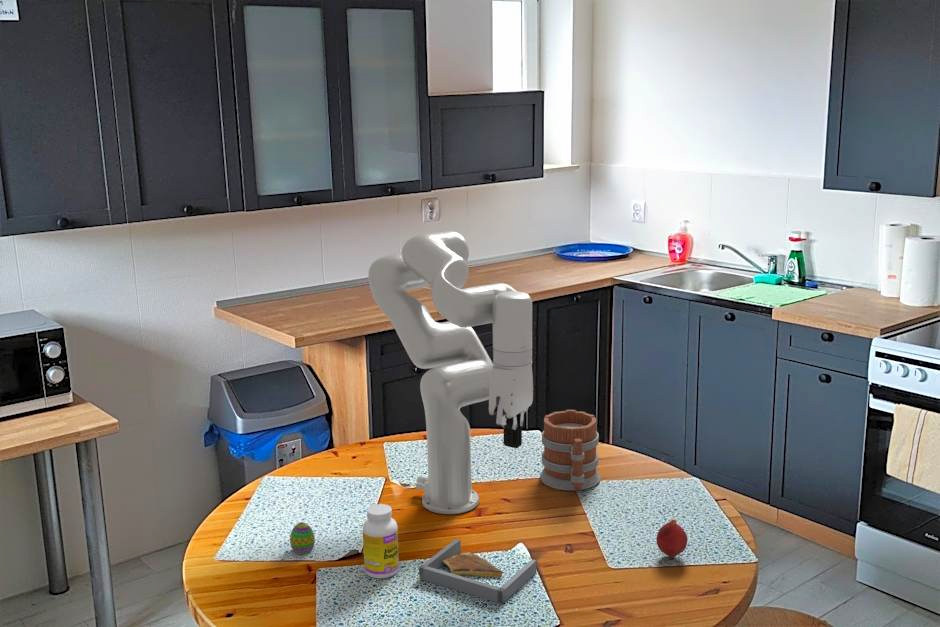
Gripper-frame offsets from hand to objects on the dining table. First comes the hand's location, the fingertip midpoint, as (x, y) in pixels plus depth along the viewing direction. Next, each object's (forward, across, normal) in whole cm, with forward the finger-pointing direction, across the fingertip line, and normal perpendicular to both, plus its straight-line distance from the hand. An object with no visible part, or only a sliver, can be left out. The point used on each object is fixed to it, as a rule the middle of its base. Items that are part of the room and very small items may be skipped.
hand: (512, 445), depth 188 cm
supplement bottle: (+21, +22, -16) cm, 35 cm away
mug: (+22, -32, -2) cm, 39 cm away
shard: (+22, +12, -2) cm, 25 cm away
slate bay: (+21, +14, +1) cm, 25 cm away
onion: (+21, -10, +30) cm, 38 cm away
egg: (+22, +23, -35) cm, 47 cm away
